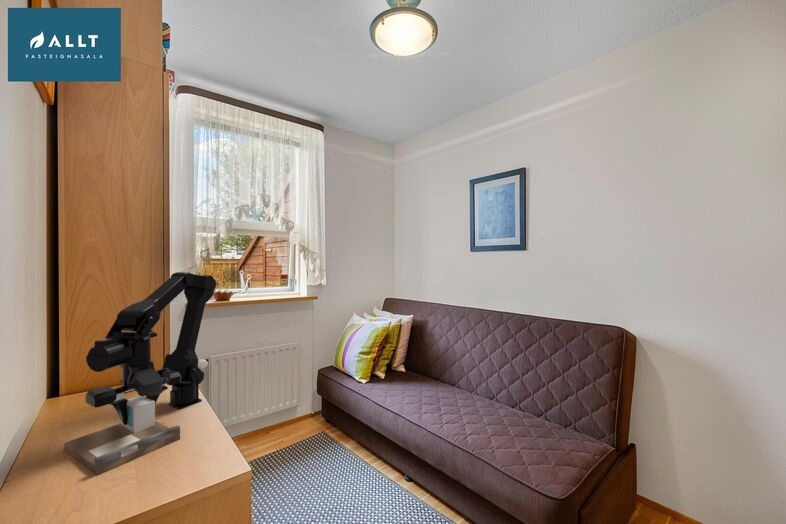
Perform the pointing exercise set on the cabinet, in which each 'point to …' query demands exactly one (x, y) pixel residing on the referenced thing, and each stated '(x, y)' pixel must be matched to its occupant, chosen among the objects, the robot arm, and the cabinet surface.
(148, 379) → the robot arm
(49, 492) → the cabinet surface
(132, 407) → the carton
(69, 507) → the cabinet surface
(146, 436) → the shelf board
